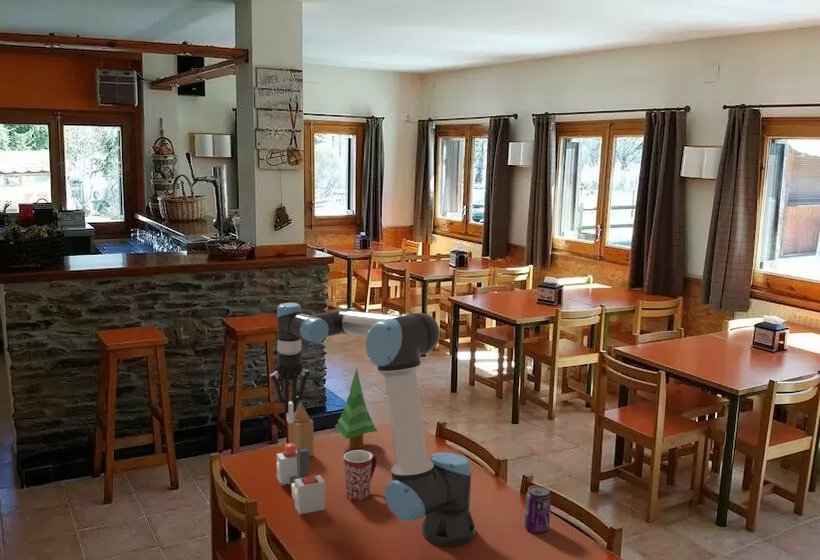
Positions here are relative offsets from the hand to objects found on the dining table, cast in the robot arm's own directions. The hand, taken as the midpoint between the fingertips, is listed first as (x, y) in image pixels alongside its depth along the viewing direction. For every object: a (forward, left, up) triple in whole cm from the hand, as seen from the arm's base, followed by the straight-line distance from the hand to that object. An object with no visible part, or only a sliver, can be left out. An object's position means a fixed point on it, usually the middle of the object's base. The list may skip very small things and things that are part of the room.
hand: (290, 421), depth 238 cm
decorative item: (+18, -9, -21) cm, 29 cm away
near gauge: (-21, 0, -14) cm, 25 cm away
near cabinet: (-21, 0, -20) cm, 29 cm away
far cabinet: (0, 0, -20) cm, 20 cm away
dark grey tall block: (-14, 0, -20) cm, 25 cm away
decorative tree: (+18, -30, -21) cm, 41 cm away
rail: (-10, 0, -20) cm, 23 cm away
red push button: (0, 0, -11) cm, 11 cm away
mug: (-18, -18, -21) cm, 33 cm away
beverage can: (-58, -57, -21) cm, 84 cm away
